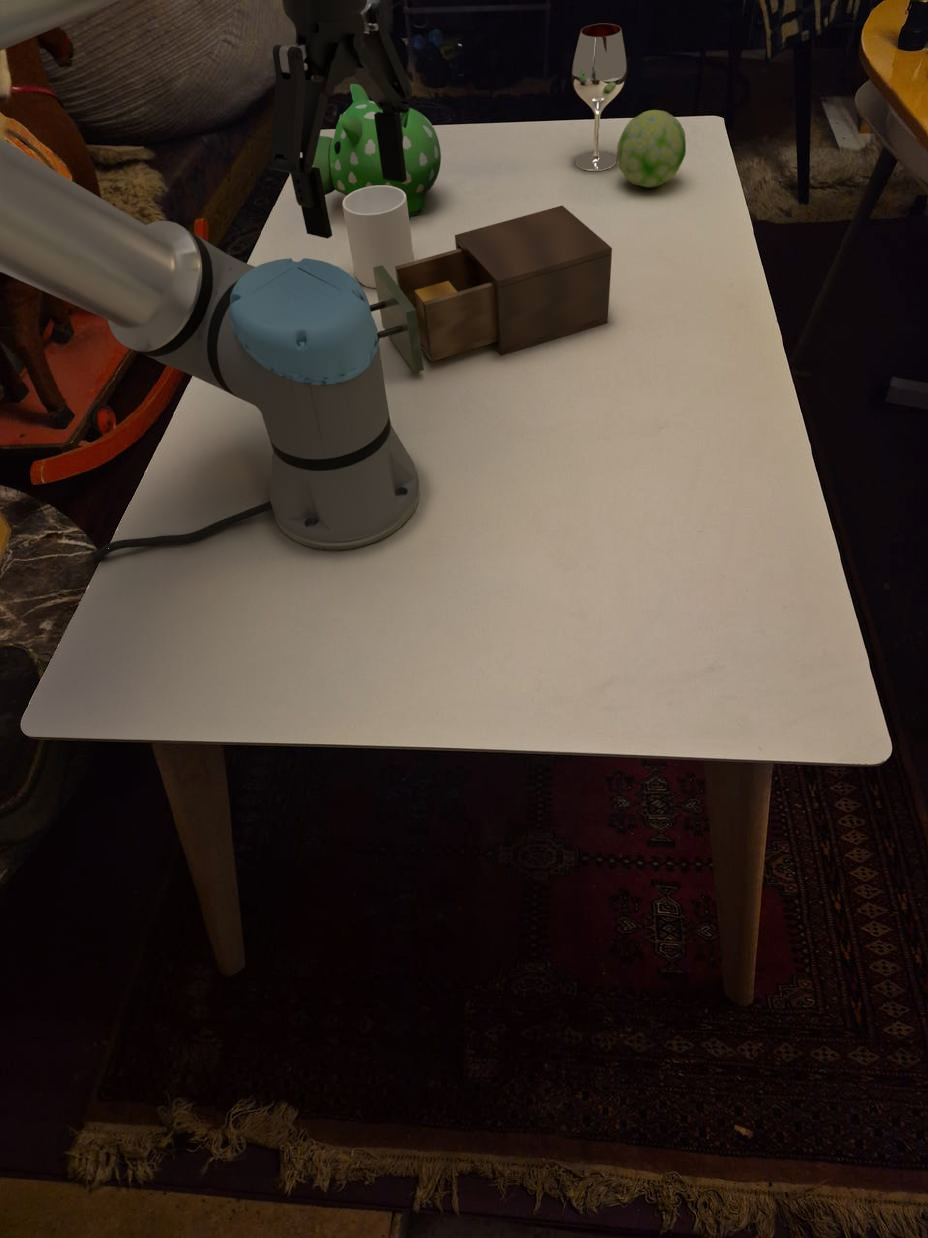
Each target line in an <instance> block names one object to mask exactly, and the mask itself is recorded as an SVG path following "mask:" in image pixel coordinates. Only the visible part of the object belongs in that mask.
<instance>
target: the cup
mask: <svg viewBox="0 0 928 1238" xmlns="http://www.w3.org/2000/svg"><path fill="white" fill-rule="evenodd" d="M341 204H342V205H341V206H342V210H343V216H344V222H345V226H346V232H347V237H348V243H349V249H350V254H351V260H352V266H353V272H354V275H355V277H356V280H357V281H358V283H359V284H360V285H362V286H365V287H368V288H370V289H371V288H372V289H376V283H375V276H374V270H373V268H374V267H377V266H381V265H383V267H384V268H385V269H386V271H387V272H388V273H389V275H390V276H391V277H392V279H393V280H394V281H395V283H396V284H397V277H396V270H395V266H398V265H402V264H406V263H409V262H413V261H415V257H414V256H415V255H414V249H413V247H414V246H413V240H412V232H411V225H410V224H411V223H410V216H409V215H408V207H407V199H406V194H405V193H404V192H403V191H402V190H401V189H399V188H396V187H393V186H384V185H379V186H369V187H365V188H361V189H358V190H356V191H354V192H352V193H350V194H349V195H347V196H346V195H345V197H344V198H343V200H342V203H341ZM397 285H398V284H397Z"/></svg>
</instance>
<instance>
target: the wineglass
mask: <svg viewBox="0 0 928 1238" xmlns="http://www.w3.org/2000/svg"><path fill="white" fill-rule="evenodd" d="M622 30H623V29H622V28H621V27H620V26H619V25H617V24H613V23H595V24H590V25H587V26H585V27H583V28H581V29H580V33H579V36H578V40H577V45H576V49H575V52H574V58H573V61H572V65H571V66H572V67H571V71H570V72H571V74H570V75H571V76H570V78H571V79H570V80H571V85H572V87H573V89H574V91H575V93H576V94H577V95H578V97H579V98H580V99H581V100H582V101H583V102H584V103H585V104H587V105H588V106H589V107H590V108H591V110H592V112H593V113H594V131H593V150H592V152H588V153H585V154H582V155H580V156H578V157H577V158H576V160H575V166H576V167H577V168H578V169H580V170H583V171H586V172H601V171H606V170H609V169H612V168H613V167H614V166H615V165H616V164H617V157H615V156H614V155H613V154H610V153H607V152H600V126H601V115H602V112H603V111H604V109H605V108H606V107H607V105H608V104H609V103H610V102H612V101H613V100H614V99H615V98H616V97H617V96H618V95H619V94H620V92H621V91H622V89H623V88H624V86H625V85H626V81H627V79H628V60H627V54H626V47H625V42H624V36H623V31H622Z"/></svg>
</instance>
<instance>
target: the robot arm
mask: <svg viewBox="0 0 928 1238" xmlns="http://www.w3.org/2000/svg"><path fill="white" fill-rule="evenodd" d="M119 1H121V0H0V52H2V51H3V50H6V49H9V48H11V47H13V46H15V45H18V44H20V43H22V42H25V41H28V40H30V39H32V38H34V37H37V36H40V35H41V34H44V33H46V32H48V31H51V30H53V29H55V28H58V27H61V26H63V25H65V24H67V23H70V22H72V21H75V20H77V19H79V18H82V17H84V16H86V15H89V14H91V13H94V12H96V11H99V10H101V9H104V8H105V7H108V6H110V5H112V4H115V3H118V2H119ZM281 2H282V7H283V11H284V13H285V16H286V17H287V18H288V19H289V20H290V21H291V22H292V24H293V26H294V28H295V41H294V42H295V43H293V44H290V45H282V44H275V45H274V46H273V48H272V59H273V66H274V73H275V82H274V83H275V86H274V104H273V116H272V117H273V118H272V119H273V120H272V121H273V122H272V135H271V150H270V151H271V153H270V166H271V168H272V169H273V170H275V171H279V172H283V173H289V174H290V177H291V182H292V187H293V190H294V195H295V200H296V202H297V205H298V206H300V207H301V212H302V218H303V222H304V226H305V230H306V235H310V236H315V237H318V238H324V239H326V240H327V239H330V238H331V237H332V236H333V231H332V226H331V221H330V215H329V211H328V206H327V205H328V204H327V201H326V195H325V194H324V189H323V184H322V179H321V173H320V168H315V167H313V163H314V159H315V154H316V150H317V145H318V141H319V136H321V131H322V126H323V123H324V118H325V114H326V110H327V105H328V100H329V99H330V98H331V97H333V95H334V93H335V88H336V87H337V86H339V85H341V84H342V83H343V82H344V81H345V80H346V79H348V78H354V79H355V80H356V82H357V83H358V85H360V86H361V87H362V88H363V89H364V90H365V92H366V94H367V96H368V97H369V99H371V101H374V103H375V104H376V105H377V106H378V108H379V109H381V110H382V111H383V113H382V112H377V113H375V114H374V118H375V125H376V133H377V140H378V147H379V154H380V161H381V168H382V176H383V179H386V180H391V181H396V182H401V183H404V182H405V181H406V180H407V176H406V168H405V159H404V151H403V132H402V131H403V130H402V121H401V113H405V114H406V113H408V111H409V108H410V101H409V100H410V99H411V98H412V96H413V88H412V86H411V84H410V81H409V78H408V77H407V74H406V71H405V69H404V66H403V64H402V62H401V59H400V58H399V55H398V52H397V50H396V48H395V45H394V43H393V41H392V39H391V36H390V34H389V31H388V29H387V24H386V19H385V12H384V9H383V5H382V4H381V3H377V2H368V0H281ZM312 77H313V78H312ZM312 79H314V80H312ZM301 155H302V156H301ZM0 273H3V274H5V275H6V276H9V277H12V278H14V279H16V280H18V281H20V282H22V283H24V284H27V285H29V286H31V287H33V288H36V289H38V290H39V291H42V292H45V293H47V294H49V295H52V296H53V297H55V298H58V299H60V300H63V301H65V302H67V303H69V304H71V305H74V306H76V307H78V308H80V309H82V310H84V311H87V312H90V313H91V314H94V315H96V316H98V317H100V318H103V319H105V320H106V321H107V324H108V326H109V329H110V331H111V333H112V335H113V336H114V338H115V339H116V340H117V342H119V343H120V345H123V347H126V348H127V349H130V350H132V351H135V352H137V353H139V354H141V355H143V356H146V357H148V358H150V359H153V360H155V361H157V362H159V363H161V364H163V365H165V366H167V367H170V368H172V369H175V370H178V371H181V372H183V373H185V374H188V375H190V376H192V377H194V378H197V379H198V380H201V381H203V382H205V383H207V384H209V385H210V386H211V385H212V386H214V387H215V388H218V389H220V390H222V391H224V392H226V393H228V394H230V395H232V396H234V397H236V398H237V399H240V400H242V401H244V402H246V403H249V404H251V405H252V406H254V407H256V408H257V409H258V411H259V412H260V414H261V417H262V421H263V423H264V426H265V430H266V433H267V435H268V439H269V442H270V445H271V448H272V460H271V471H270V482H269V499H270V500H269V501H267V502H263V503H260V504H258V505H256V506H253V507H250V508H248V509H245V510H243V511H239V512H238V513H235V514H233V515H230V516H227V517H225V518H222V519H221V520H218V521H215V522H213V523H212V524H209V525H207V526H204V527H203V528H201V529H197V530H195V531H192V532H188V533H184V534H168V535H157V536H150V537H138V538H137V537H136V538H127V539H126V538H125V539H119V540H115V541H111V542H109V543H107V544H105V545H104V546H102V547H100V548H99V549H98V550H97V551H96V552H95V553H94V554H93V557H92V558H91V563H92V564H99V563H100V562H102V561H103V560H104V558H106V556H107V555H109V554H110V553H113V552H115V551H118V550H124V549H131V548H145V547H153V546H161V545H179V544H186V543H191V542H195V541H198V540H201V539H203V538H206V537H208V536H209V535H212V534H214V533H217V532H218V531H221V530H223V529H226V528H228V527H230V526H233V525H235V524H238V523H240V522H244V521H245V520H248V519H251V518H253V517H256V516H258V515H261V514H264V513H266V512H269V511H271V510H272V513H273V516H274V520H275V522H276V524H277V525H278V527H279V528H280V530H281V531H282V532H283V533H284V534H285V535H286V536H288V538H290V539H292V540H293V541H295V542H297V543H299V544H301V545H304V546H307V547H310V548H314V549H319V550H331V551H335V550H336V551H337V550H338V551H339V550H350V549H355V548H360V547H364V546H367V545H370V544H373V543H375V542H378V541H380V540H382V539H384V538H386V537H387V536H390V535H392V534H394V533H395V532H396V531H397V530H399V529H400V528H401V527H402V526H403V525H404V524H405V523H406V522H407V521H408V520H409V519H410V518H411V516H412V515H413V513H414V512H415V510H416V508H417V506H418V504H419V499H420V495H421V488H420V481H419V474H418V472H417V469H416V466H415V462H414V461H413V458H412V457H411V456H410V454H409V452H408V450H407V449H406V447H405V446H404V444H403V442H402V441H401V439H400V438H399V435H398V434H397V433H396V431H395V429H394V427H393V426H392V422H391V417H390V411H389V404H388V398H387V391H386V383H385V377H384V371H383V364H382V357H381V352H380V344H379V342H378V335H377V333H378V328H377V324H376V321H375V318H374V317H373V315H372V312H371V310H370V306H369V305H370V302H369V299H368V296H367V293H366V292H365V290H364V289H363V287H362V284H361V283H360V282H359V281H358V280H357V279H356V278H354V277H353V276H352V274H350V273H349V272H347V271H346V270H344V269H342V268H341V267H339V266H337V265H334V264H332V263H329V262H327V261H323V260H319V259H313V258H306V257H305V258H302V259H301V260H299V261H294V260H293V259H292V258H291V257H288V258H281V259H276V260H271V261H268V262H265V263H262V264H259V265H257V266H254V265H251V264H249V263H247V262H244V261H242V260H240V259H237V258H236V257H233V256H232V255H229V254H228V253H226V252H224V251H223V250H221V249H220V248H218V247H216V246H214V245H213V244H211V243H210V242H208V241H207V240H205V239H203V238H202V237H200V236H199V235H197V234H195V233H194V232H192V231H190V230H189V229H188V228H185V227H184V226H182V225H180V224H179V223H177V222H174V221H169V220H156V221H152V222H150V223H148V224H144V223H143V222H141V221H140V220H137V219H136V218H135V217H133V216H131V215H130V214H128V213H126V212H125V211H122V210H121V209H120V208H118V207H117V206H115V205H112V204H111V203H110V202H108V201H106V200H104V199H103V198H101V197H99V196H98V195H97V194H94V193H93V192H91V191H90V190H88V189H86V188H85V187H83V186H81V185H80V184H77V183H76V182H75V181H73V180H71V179H69V177H66V176H64V175H63V174H61V173H59V172H58V171H56V170H54V169H52V168H51V167H50V166H47V165H46V164H44V163H42V162H41V161H39V160H38V159H36V158H34V157H32V156H31V155H29V154H28V153H26V152H25V151H23V150H21V149H19V148H18V147H16V146H14V145H13V144H11V143H9V142H7V141H6V140H4V139H3V138H1V137H0ZM108 548H109V549H108Z"/></svg>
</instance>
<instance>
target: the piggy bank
mask: <svg viewBox="0 0 928 1238" xmlns="http://www.w3.org/2000/svg"><path fill="white" fill-rule="evenodd" d="M349 88H350V93H351V97H352V103H351V104H350V106H349V107H348V108H347V109H346V110H345V111H344V112H343V113H342V114H340V115H339V119H338V120H337V124H336V126H335V131H334V134H333V137H331V136H325V135H320V136H319V141H318V145H317V150H316V154H315V159H314V163H313V167H315V168H320V173H321V179H322V184H323V189H324V194H325V196H326V195H329V194H332V193H333V192H334V191H336V192H338V193H340V194H342V195H345V197H346V196H347V195H349V194H350V193H352V192H354V191H356V190H358V189H361V188H365V187H369V186H379V185H384V186H393V187H396V188H399V189H401V190H402V191H403V192H404V193H405V194H406V199H407V207H408V215H409V217H411V216H418V215H420V214H421V213H422V212H423V210H424V208H425V206H426V196H427V193H428V192H429V191H430V190H431V189H432V188H433V186H434V185H435V182H436V181H437V179H438V175H439V174H440V169H441V162H442V152H441V146H440V140H439V138H438V134H437V131H436V129H435V128H434V125H433V124H432V122H430V120H429V119H428V118H427V117H426V116H425V115H423V113H421V112H419V111H418V110H416V109H414V108H411V107H409V111H408V113H406V114H405V113H401V121H402V130H403V131H402V132H403V151H404V159H405V168H406V176H407V180H406V181H405V182H404V183H401V182H396V181H391V180H386V179H383V176H382V168H381V161H380V154H379V147H378V140H377V133H376V125H375V118H374V114H375V113H377V112H382V113H383V111H382V110H381V109H379V108H378V106H377V105H376V104H375V103H374V101H373V100H370V96H369V95H368V94H367V93H366V91H365V90H364V89H363V88H362V86H361V85H360V84H359V83H358V84H356V83H351V84H350V85H349Z"/></svg>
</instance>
